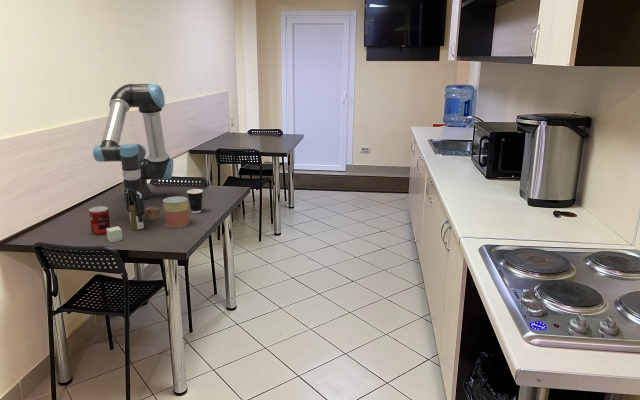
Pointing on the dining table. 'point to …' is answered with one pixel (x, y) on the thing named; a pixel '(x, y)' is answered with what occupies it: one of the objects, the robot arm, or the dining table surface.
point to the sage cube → (114, 234)
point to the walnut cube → (152, 213)
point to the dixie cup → (195, 200)
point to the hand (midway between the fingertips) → (137, 226)
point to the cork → (133, 217)
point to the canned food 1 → (99, 219)
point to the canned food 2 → (176, 211)
